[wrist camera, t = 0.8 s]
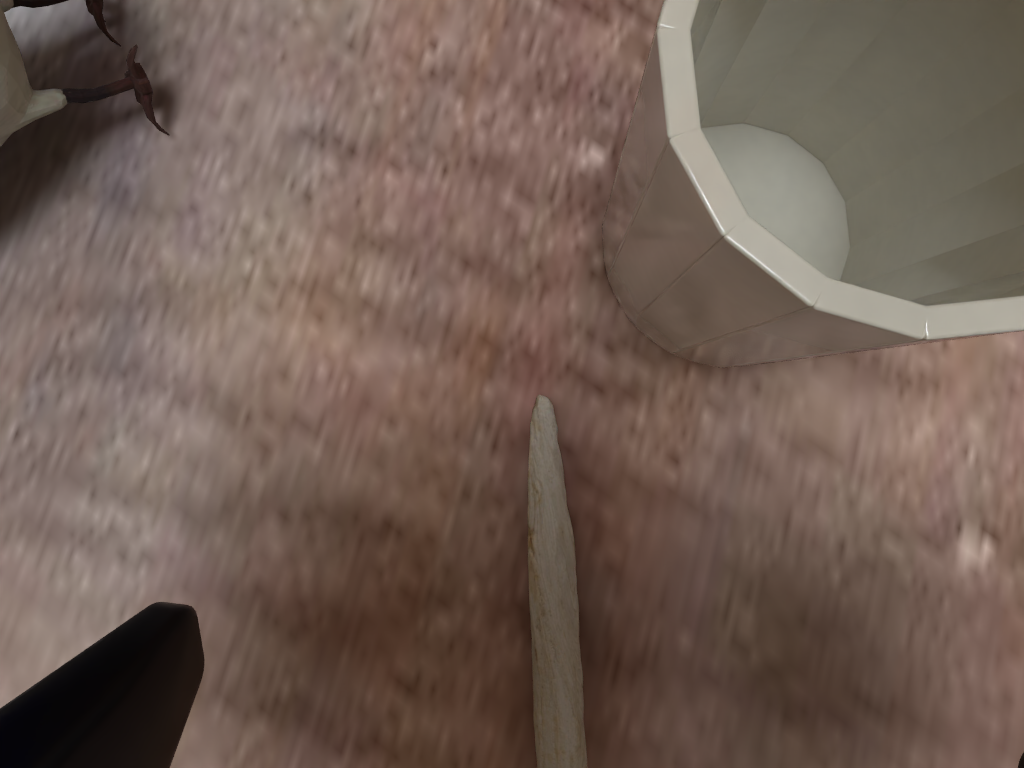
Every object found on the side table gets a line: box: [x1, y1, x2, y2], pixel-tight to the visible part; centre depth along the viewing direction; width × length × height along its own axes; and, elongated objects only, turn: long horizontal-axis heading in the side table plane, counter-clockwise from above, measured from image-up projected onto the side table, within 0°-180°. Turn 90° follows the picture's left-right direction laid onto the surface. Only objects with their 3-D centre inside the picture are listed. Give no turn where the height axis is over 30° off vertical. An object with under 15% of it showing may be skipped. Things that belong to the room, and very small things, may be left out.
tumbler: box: [602, 0, 1024, 368], centre depth 16 cm, size 7×7×12 cm
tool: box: [528, 395, 587, 768], centre depth 21 cm, size 17×3×3 cm, turn 3°
